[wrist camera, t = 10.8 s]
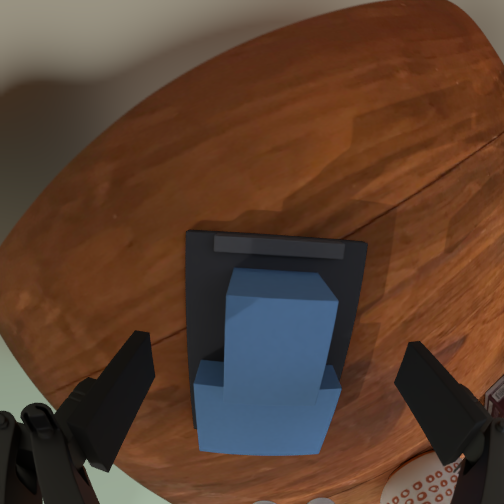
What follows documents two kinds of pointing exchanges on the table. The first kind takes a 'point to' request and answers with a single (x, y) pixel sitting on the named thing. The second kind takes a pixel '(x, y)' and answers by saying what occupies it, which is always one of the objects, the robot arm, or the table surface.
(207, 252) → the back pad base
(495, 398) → the supplement box
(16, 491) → the robot arm
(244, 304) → the blue block
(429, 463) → the white patterned vase
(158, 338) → the table surface
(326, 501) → the sunglasses
